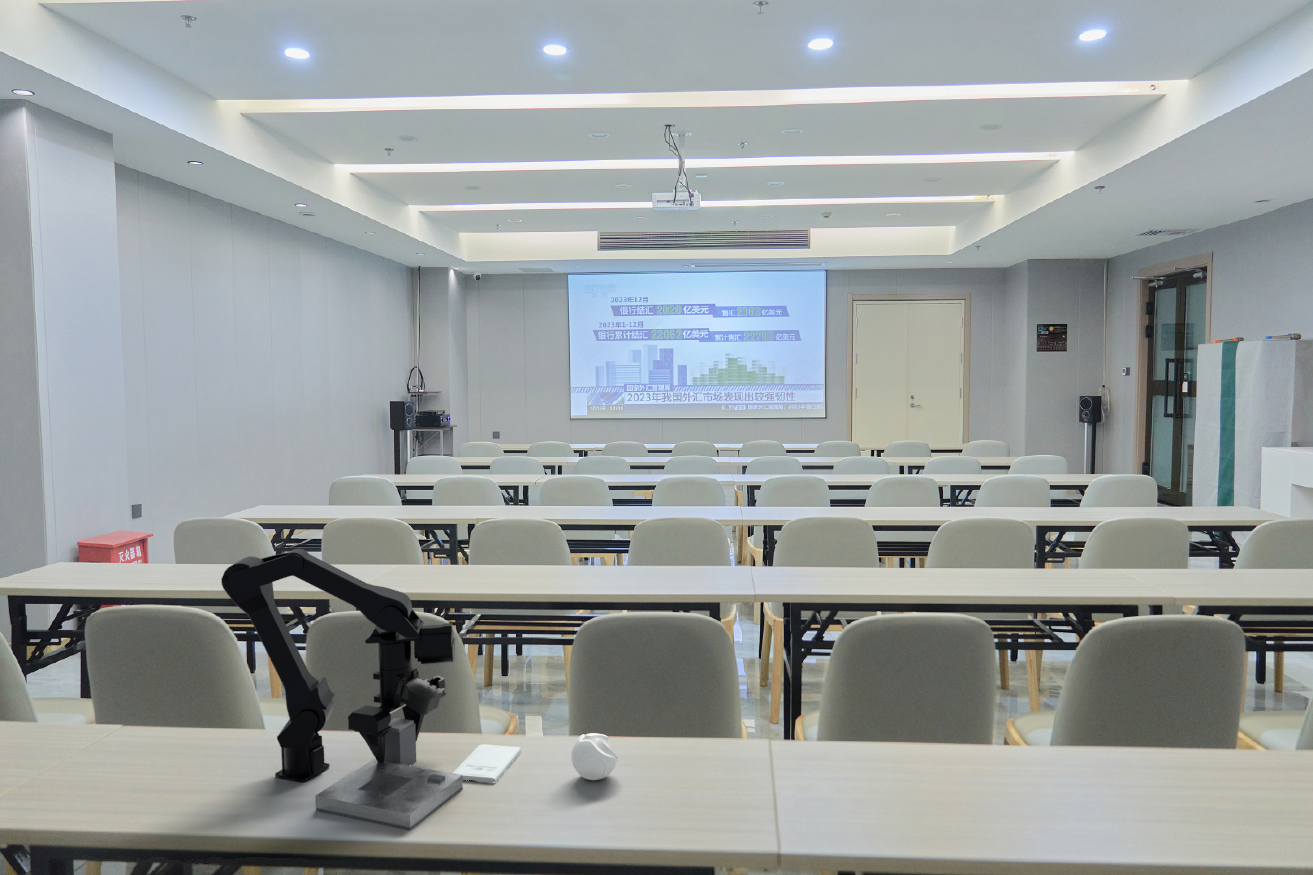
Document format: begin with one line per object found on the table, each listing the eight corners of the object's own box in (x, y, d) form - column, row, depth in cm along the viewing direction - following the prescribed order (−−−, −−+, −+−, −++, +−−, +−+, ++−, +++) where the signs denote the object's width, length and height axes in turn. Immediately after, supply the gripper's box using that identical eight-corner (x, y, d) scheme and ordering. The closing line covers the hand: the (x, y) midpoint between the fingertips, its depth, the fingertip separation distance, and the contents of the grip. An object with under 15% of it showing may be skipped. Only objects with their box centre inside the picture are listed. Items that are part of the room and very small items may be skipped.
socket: (315, 810, 136) (315, 792, 136) (374, 772, 149) (373, 756, 149) (410, 829, 130) (409, 811, 129) (462, 788, 143) (462, 771, 142)
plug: (380, 768, 151) (378, 726, 150) (396, 758, 155) (394, 717, 154) (400, 772, 149) (399, 729, 149) (416, 761, 153) (415, 720, 153)
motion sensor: (624, 782, 144) (623, 737, 144) (582, 792, 141) (581, 746, 140) (605, 764, 151) (605, 721, 151) (565, 773, 148) (564, 729, 148)
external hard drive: (521, 755, 157) (495, 786, 145) (479, 752, 158) (450, 782, 146) (521, 746, 157) (495, 777, 144) (479, 743, 158) (449, 773, 146)
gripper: (399, 688, 139) (402, 781, 140) (464, 654, 157) (466, 737, 158) (344, 680, 143) (347, 771, 144) (413, 648, 161) (415, 729, 162)
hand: (397, 751), depth 152 cm, fingers open, 9 cm apart
